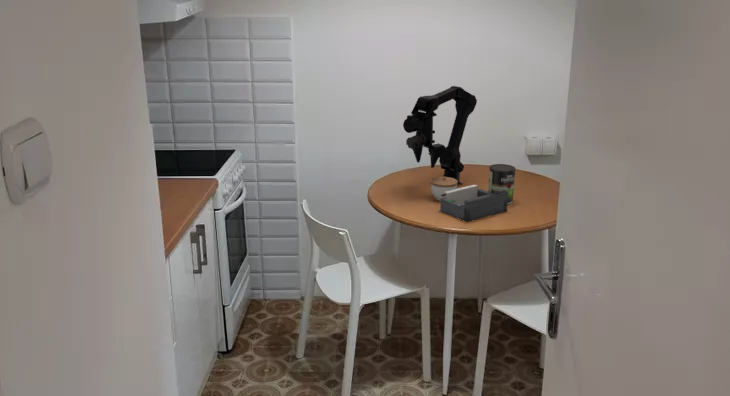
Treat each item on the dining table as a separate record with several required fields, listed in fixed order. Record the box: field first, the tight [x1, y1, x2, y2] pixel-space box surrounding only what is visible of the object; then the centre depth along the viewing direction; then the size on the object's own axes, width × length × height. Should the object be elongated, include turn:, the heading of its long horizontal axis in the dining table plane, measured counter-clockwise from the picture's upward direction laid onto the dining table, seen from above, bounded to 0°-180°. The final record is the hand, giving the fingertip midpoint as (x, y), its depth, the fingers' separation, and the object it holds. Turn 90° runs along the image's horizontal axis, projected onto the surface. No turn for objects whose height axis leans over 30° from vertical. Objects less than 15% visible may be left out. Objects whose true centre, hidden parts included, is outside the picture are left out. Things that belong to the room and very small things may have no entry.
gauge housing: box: [439, 188, 508, 223], centre depth 273 cm, size 21×15×8 cm
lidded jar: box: [430, 175, 458, 202], centre depth 286 cm, size 11×11×9 cm
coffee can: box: [487, 163, 516, 206], centre depth 283 cm, size 10×10×14 cm
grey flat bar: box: [441, 184, 479, 205], centre depth 278 cm, size 18×2×6 cm, turn 125°
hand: (425, 165), depth 292 cm, fingers open, 9 cm apart
